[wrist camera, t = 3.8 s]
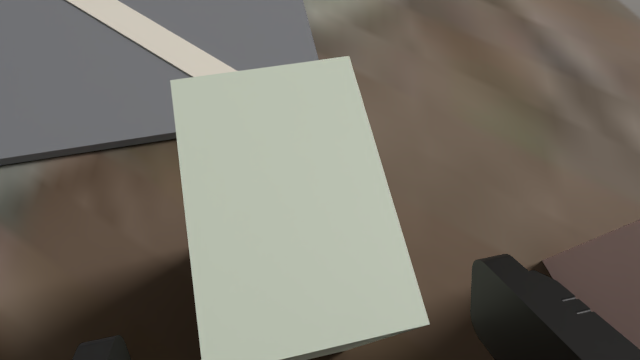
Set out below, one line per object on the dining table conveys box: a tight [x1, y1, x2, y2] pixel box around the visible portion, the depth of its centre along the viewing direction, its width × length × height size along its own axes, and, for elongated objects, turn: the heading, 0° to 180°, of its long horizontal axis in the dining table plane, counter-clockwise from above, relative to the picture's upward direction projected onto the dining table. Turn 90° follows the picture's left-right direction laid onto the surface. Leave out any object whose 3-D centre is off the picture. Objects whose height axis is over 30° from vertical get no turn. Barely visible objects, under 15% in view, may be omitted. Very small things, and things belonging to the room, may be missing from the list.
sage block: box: [170, 56, 430, 360], centre depth 14 cm, size 4×6×12 cm, turn 13°
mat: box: [0, 0, 319, 165], centre depth 24 cm, size 20×15×1 cm
